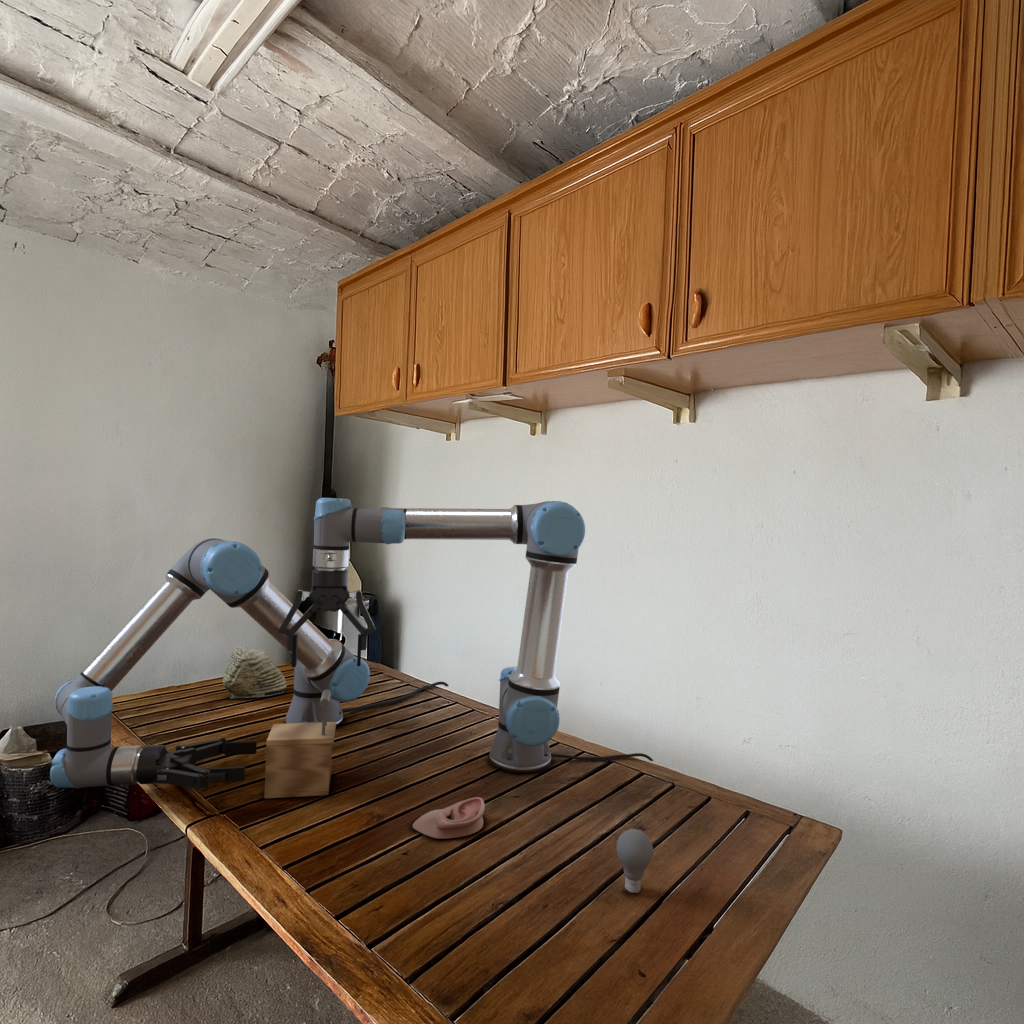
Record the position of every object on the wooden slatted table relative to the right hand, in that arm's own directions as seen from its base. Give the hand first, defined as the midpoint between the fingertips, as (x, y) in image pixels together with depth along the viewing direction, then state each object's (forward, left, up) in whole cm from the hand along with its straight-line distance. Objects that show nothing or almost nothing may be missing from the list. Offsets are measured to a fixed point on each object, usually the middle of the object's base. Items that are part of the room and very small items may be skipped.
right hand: (326, 665), depth 139 cm
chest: (+5, -1, -26) cm, 27 cm away
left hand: (+15, -2, -20) cm, 25 cm away
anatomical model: (-22, +24, -26) cm, 42 cm away
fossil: (+15, -69, -26) cm, 75 cm away
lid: (+4, -1, -15) cm, 16 cm away
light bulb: (-46, +54, -26) cm, 75 cm away
